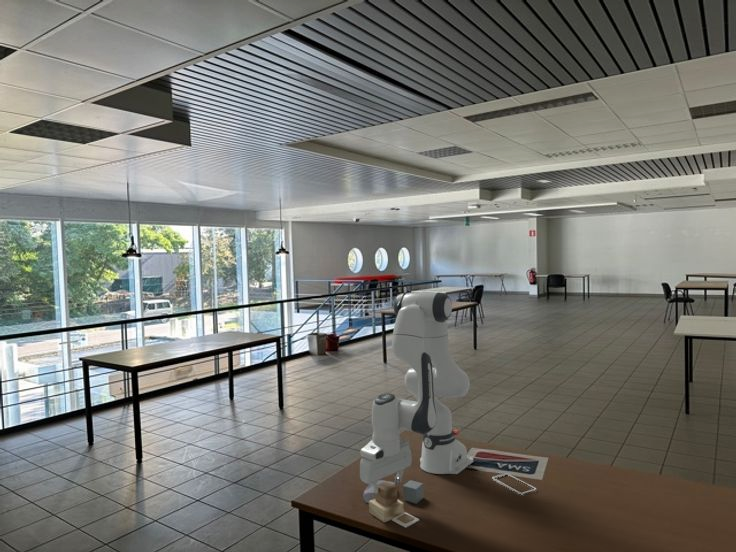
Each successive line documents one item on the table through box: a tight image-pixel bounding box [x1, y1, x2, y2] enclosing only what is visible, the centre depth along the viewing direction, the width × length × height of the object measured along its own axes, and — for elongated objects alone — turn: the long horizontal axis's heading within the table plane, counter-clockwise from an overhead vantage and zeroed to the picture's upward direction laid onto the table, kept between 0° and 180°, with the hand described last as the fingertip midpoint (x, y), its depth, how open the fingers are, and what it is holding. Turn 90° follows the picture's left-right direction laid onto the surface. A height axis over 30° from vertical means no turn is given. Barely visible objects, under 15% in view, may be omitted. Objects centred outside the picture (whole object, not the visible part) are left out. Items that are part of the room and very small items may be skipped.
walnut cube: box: [375, 480, 399, 507], centre depth 157 cm, size 5×5×5 cm
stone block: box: [362, 479, 397, 504], centre depth 169 cm, size 12×5×10 cm
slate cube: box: [402, 479, 424, 505], centre depth 166 cm, size 5×5×5 cm
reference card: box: [391, 511, 420, 528], centre depth 152 cm, size 6×6×1 cm
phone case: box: [491, 473, 537, 496], centre depth 174 cm, size 7×1×15 cm
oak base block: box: [368, 498, 405, 523], centre depth 157 cm, size 8×8×4 cm
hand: (387, 487), depth 159 cm, fingers open, 8 cm apart
